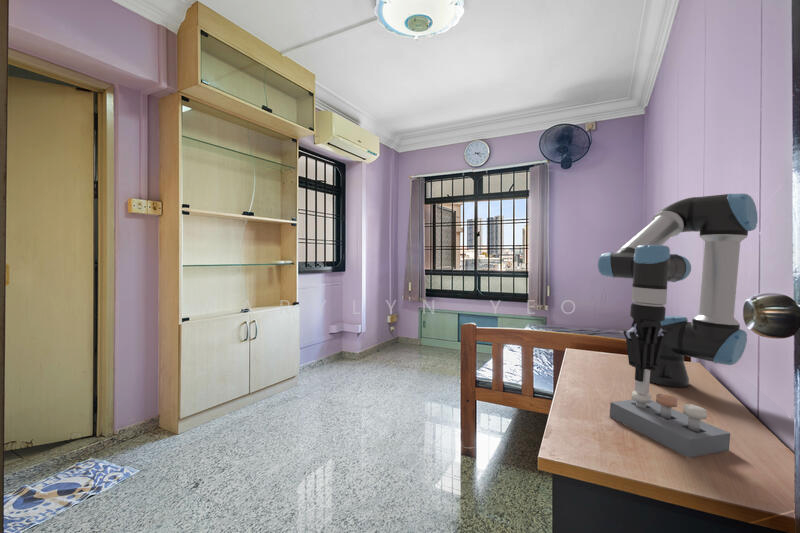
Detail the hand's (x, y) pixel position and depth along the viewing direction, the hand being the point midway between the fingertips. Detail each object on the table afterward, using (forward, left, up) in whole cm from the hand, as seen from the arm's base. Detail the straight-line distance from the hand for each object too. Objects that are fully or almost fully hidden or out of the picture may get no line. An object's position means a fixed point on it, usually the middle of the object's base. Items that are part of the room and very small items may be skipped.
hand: (641, 392), depth 96 cm
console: (0, +6, -7) cm, 10 cm away
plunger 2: (0, +13, -4) cm, 14 cm away
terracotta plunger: (0, +6, -4) cm, 7 cm away
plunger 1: (0, 0, -6) cm, 6 cm away
